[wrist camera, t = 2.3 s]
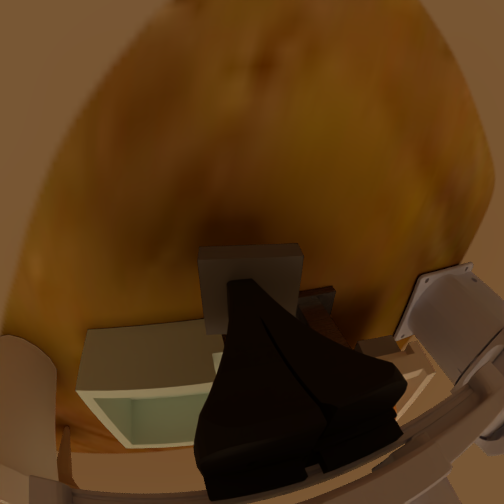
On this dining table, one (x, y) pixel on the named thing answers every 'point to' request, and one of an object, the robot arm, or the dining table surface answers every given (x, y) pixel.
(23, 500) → the foam cup
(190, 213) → the dining table surface
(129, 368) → the cup
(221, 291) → the lever board
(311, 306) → the lever stand
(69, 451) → the ice cream cone
